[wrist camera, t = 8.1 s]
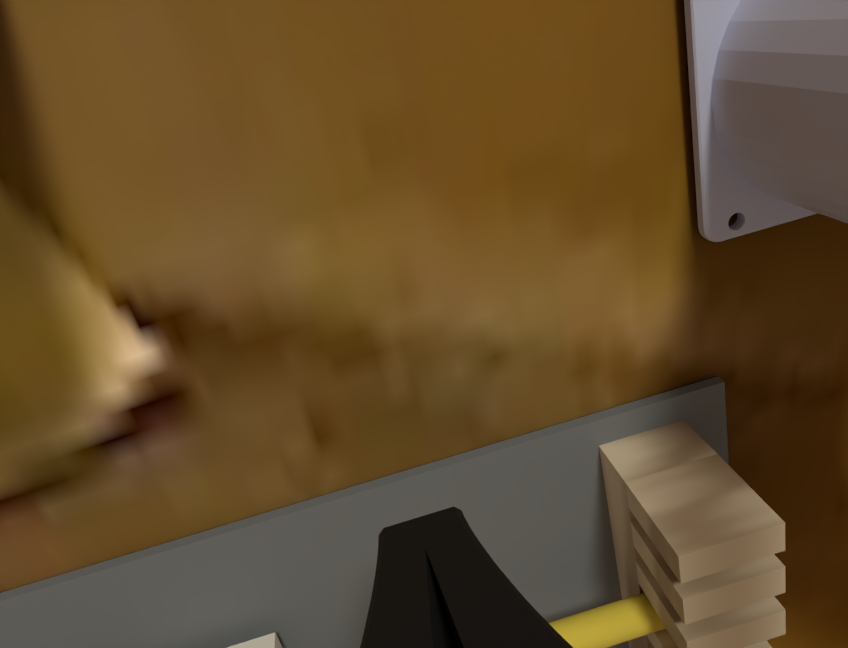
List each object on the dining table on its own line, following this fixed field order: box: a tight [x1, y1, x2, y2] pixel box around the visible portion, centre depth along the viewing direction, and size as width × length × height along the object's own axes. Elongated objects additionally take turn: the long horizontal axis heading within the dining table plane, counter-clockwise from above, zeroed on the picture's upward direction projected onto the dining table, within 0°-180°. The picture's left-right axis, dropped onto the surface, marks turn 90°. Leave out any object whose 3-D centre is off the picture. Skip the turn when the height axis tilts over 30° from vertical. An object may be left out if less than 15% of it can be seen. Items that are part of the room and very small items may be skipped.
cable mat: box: [0, 376, 729, 648], centre depth 24 cm, size 27×12×1 cm, turn 104°
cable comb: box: [599, 420, 786, 648], centre depth 22 cm, size 3×10×5 cm, turn 14°
